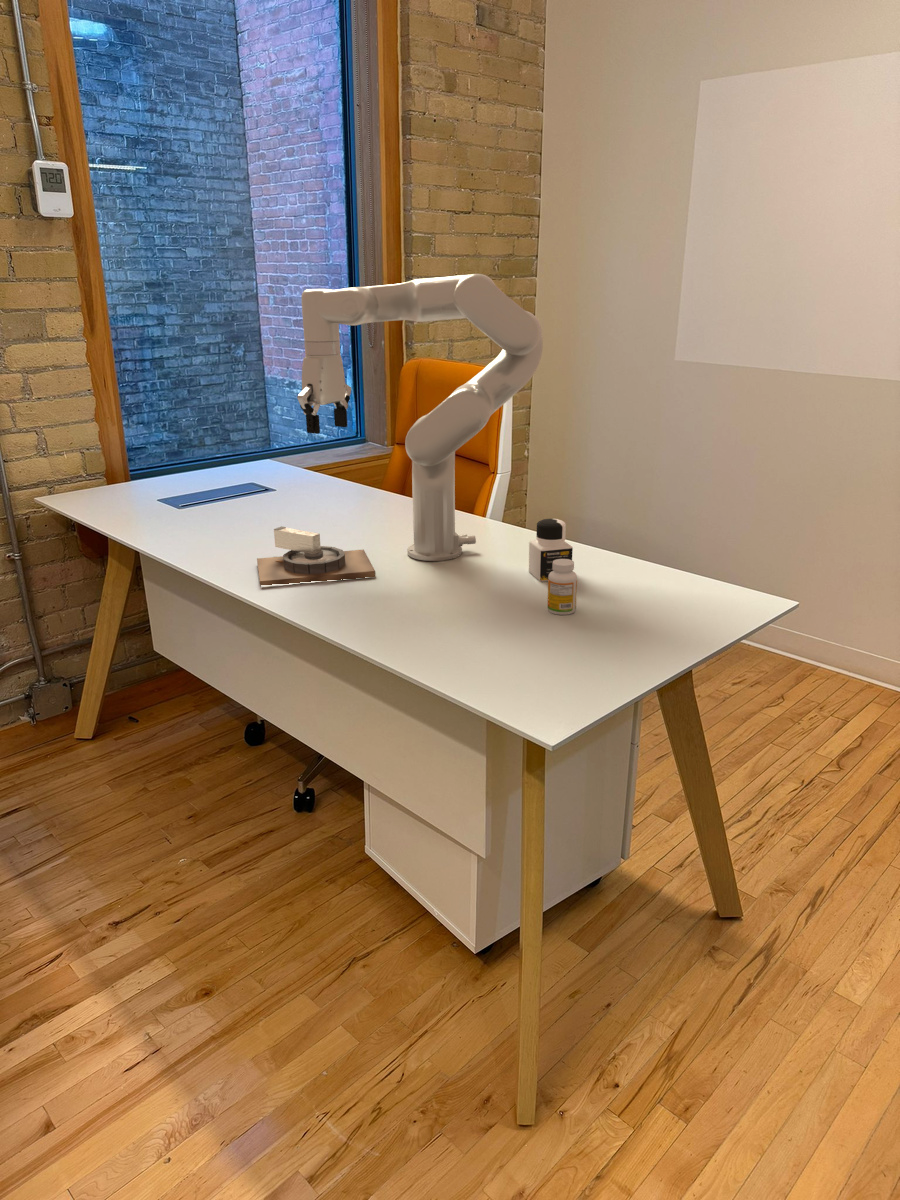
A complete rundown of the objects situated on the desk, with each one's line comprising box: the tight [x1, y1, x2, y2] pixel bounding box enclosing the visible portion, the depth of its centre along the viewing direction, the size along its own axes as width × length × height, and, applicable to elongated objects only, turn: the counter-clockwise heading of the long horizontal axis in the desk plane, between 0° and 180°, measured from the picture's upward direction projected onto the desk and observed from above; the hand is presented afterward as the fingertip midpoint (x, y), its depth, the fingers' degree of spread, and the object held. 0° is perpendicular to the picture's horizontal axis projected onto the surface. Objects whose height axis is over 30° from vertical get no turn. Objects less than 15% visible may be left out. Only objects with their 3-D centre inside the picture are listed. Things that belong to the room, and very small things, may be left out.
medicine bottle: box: [528, 518, 574, 583], centre depth 181 cm, size 7×7×12 cm
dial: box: [273, 526, 337, 563], centre depth 187 cm, size 15×10×7 cm, turn 58°
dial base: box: [256, 545, 376, 585], centre depth 187 cm, size 24×16×4 cm
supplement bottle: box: [547, 559, 578, 616], centre depth 162 cm, size 5×5×10 cm
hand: (327, 429), depth 191 cm, fingers open, 9 cm apart
